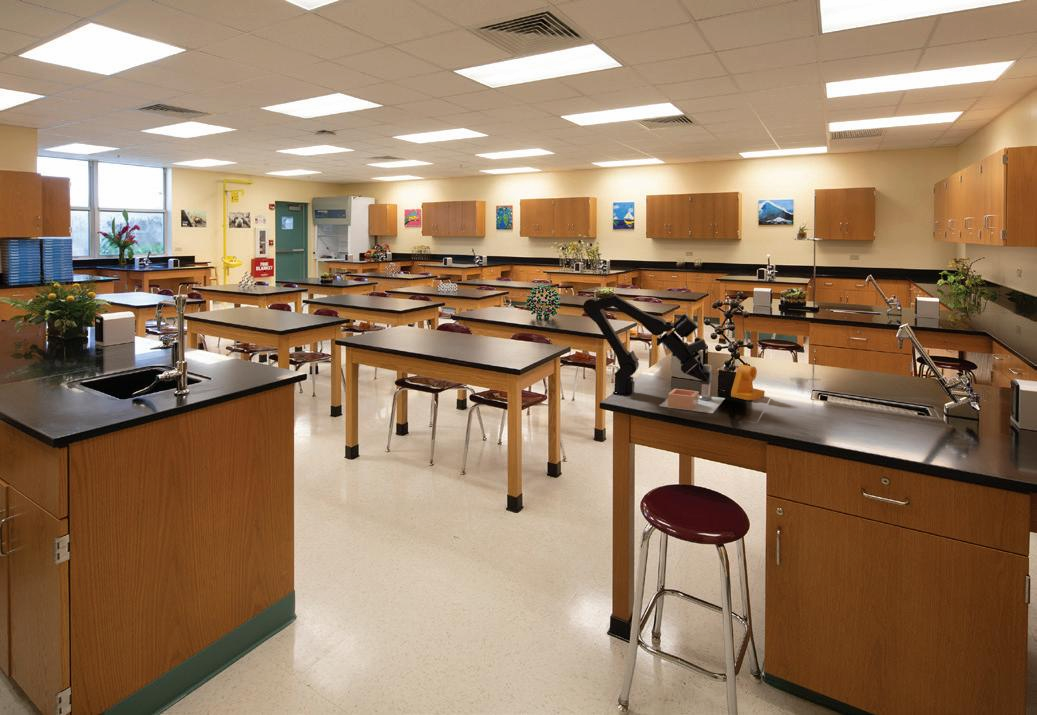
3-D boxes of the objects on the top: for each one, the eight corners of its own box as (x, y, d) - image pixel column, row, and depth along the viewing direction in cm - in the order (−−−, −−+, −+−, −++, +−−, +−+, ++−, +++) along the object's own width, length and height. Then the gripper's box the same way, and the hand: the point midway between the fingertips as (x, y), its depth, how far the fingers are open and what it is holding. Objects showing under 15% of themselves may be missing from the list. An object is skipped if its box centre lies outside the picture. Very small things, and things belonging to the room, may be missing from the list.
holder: (667, 406, 204) (668, 393, 203) (673, 400, 211) (674, 388, 210) (692, 409, 200) (693, 396, 199) (698, 403, 207) (699, 391, 206)
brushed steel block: (697, 399, 212) (699, 365, 210) (700, 397, 216) (702, 363, 214) (710, 401, 210) (712, 367, 208) (712, 398, 214) (715, 364, 212)
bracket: (748, 402, 210) (751, 369, 208) (730, 398, 216) (733, 366, 214) (765, 398, 217) (767, 366, 215) (747, 394, 222) (749, 362, 220)
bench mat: (658, 406, 204) (658, 405, 204) (675, 393, 223) (675, 392, 223) (712, 414, 196) (712, 413, 196) (725, 399, 215) (725, 398, 215)
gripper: (692, 335, 201) (724, 368, 200) (695, 327, 219) (725, 358, 217) (667, 356, 206) (699, 389, 204) (672, 347, 223) (701, 378, 221)
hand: (707, 378), depth 212 cm, fingers open, 9 cm apart
